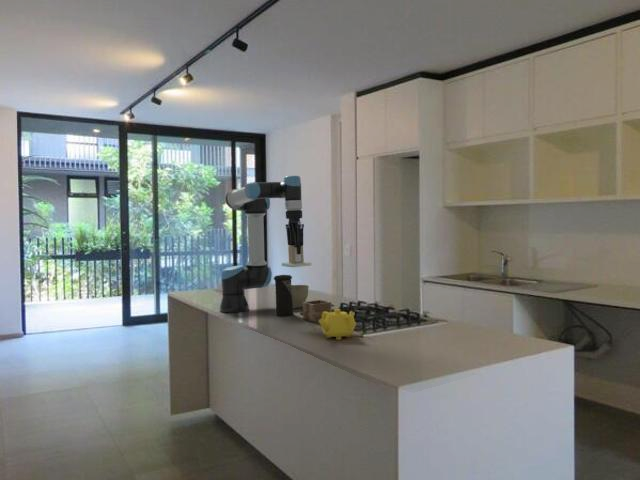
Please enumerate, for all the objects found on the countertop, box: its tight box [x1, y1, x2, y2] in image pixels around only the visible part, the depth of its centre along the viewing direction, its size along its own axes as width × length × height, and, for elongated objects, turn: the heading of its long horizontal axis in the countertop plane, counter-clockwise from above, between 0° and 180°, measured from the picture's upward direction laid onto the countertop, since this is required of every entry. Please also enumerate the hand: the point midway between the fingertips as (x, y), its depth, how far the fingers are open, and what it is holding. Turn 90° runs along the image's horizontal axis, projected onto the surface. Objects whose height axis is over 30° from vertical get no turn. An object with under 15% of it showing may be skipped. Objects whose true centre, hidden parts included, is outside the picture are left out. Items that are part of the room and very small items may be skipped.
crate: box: [302, 299, 333, 323], centre depth 249 cm, size 10×10×8 cm
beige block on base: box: [281, 245, 312, 268], centre depth 243 cm, size 10×10×9 cm
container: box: [273, 274, 294, 317], centre depth 264 cm, size 9×9×20 cm
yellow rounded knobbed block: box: [318, 308, 357, 341], centre depth 212 cm, size 20×18×11 cm
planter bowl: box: [291, 284, 309, 309], centre depth 286 cm, size 16×16×11 cm
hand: (296, 261), depth 243 cm, fingers closed on beige block on base, 3 cm apart
